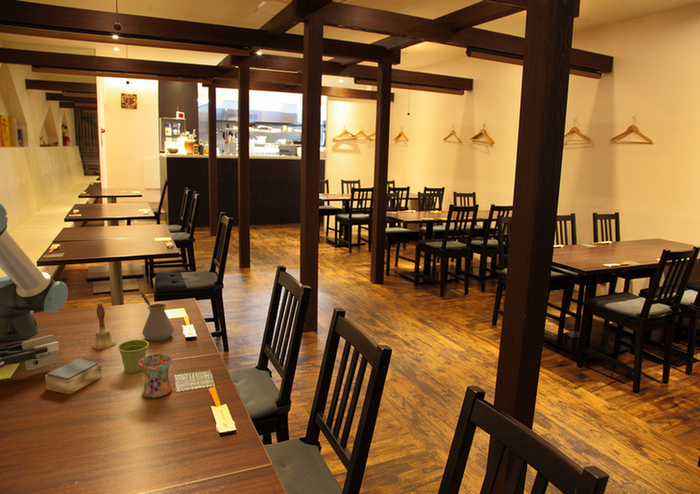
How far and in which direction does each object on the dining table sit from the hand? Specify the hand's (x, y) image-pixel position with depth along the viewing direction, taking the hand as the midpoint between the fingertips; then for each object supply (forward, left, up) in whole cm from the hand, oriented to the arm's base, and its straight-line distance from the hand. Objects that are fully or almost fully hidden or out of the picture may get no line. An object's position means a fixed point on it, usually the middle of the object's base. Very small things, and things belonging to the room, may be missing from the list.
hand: (56, 343), depth 155 cm
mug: (+1, +40, -9) cm, 41 cm away
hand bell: (-20, -1, -9) cm, 21 cm away
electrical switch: (+4, -3, -6) cm, 8 cm away
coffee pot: (-35, +9, -9) cm, 37 cm away
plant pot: (-8, +24, -9) cm, 27 cm away
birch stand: (+6, +14, -8) cm, 18 cm away
